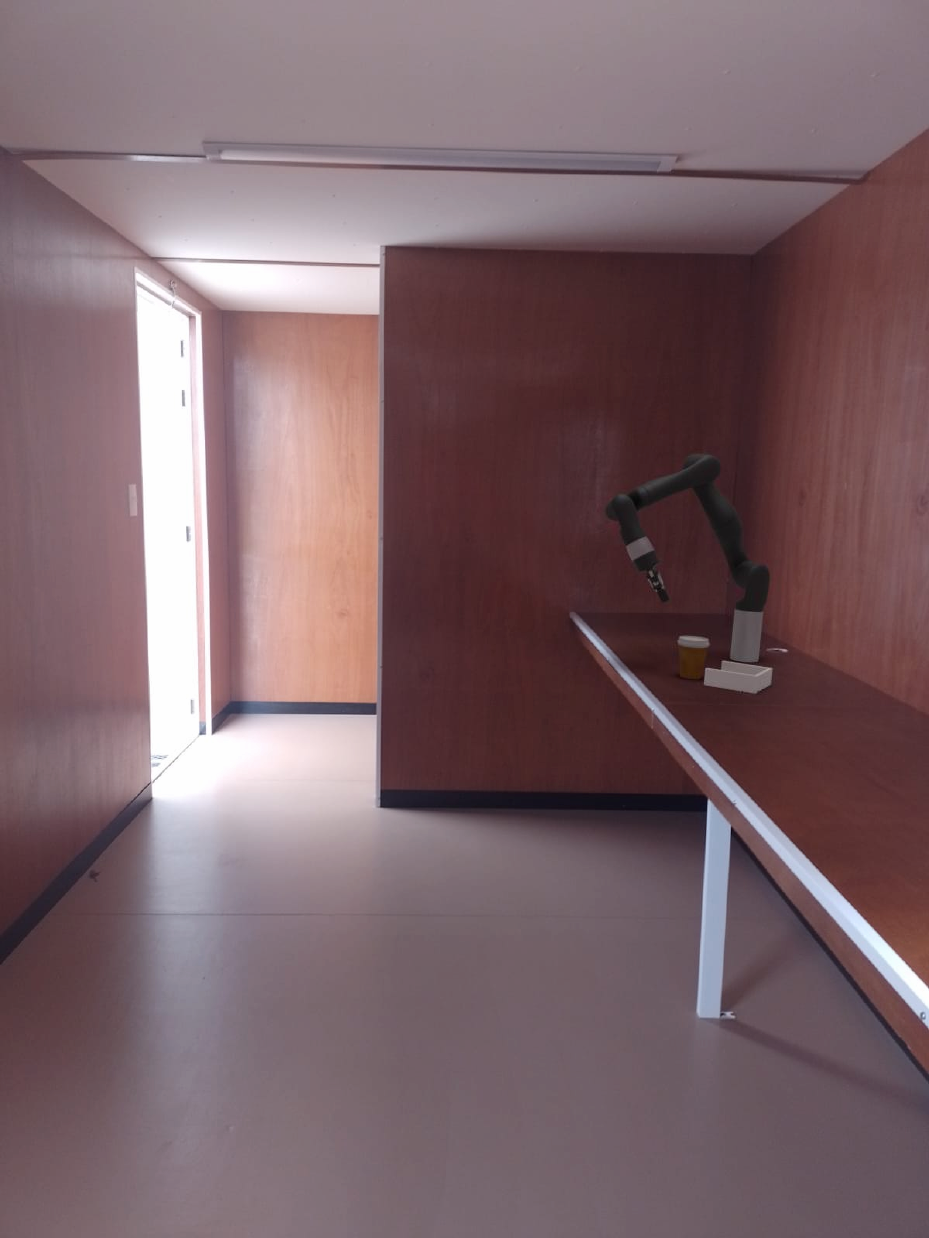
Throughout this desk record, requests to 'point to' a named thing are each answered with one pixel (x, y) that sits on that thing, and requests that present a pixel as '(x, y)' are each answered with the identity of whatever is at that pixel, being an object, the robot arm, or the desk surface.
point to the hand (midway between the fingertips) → (666, 601)
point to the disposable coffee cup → (692, 656)
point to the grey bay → (739, 677)
